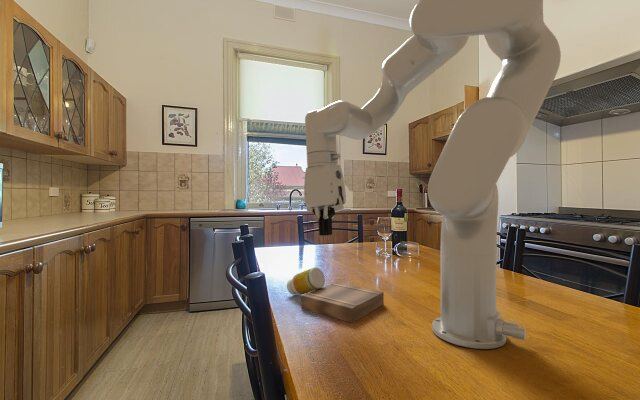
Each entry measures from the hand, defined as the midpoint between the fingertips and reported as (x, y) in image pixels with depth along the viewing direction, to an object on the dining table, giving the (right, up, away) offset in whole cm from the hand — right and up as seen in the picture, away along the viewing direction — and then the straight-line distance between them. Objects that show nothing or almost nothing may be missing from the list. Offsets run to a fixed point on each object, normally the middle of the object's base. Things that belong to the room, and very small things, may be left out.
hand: (325, 234), depth 77 cm
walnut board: (+4, -17, -3) cm, 17 cm away
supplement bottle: (-2, -11, +1) cm, 11 cm away
